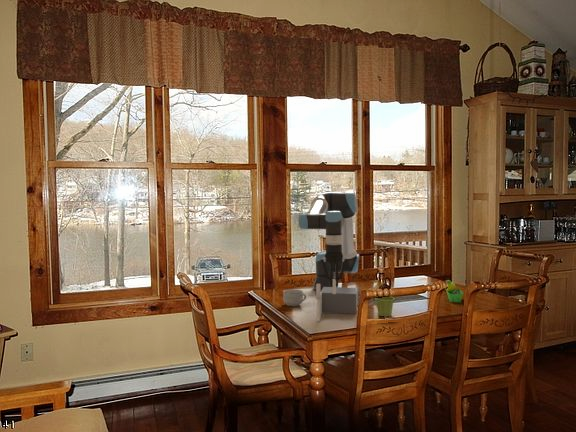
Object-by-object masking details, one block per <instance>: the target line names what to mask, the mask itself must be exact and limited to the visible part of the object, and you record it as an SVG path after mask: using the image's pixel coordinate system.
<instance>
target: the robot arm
mask: <svg viewBox="0 0 576 432" xmlns="http://www.w3.org/2000/svg"><path fill="white" fill-rule="evenodd" d="M356 213H358V198H357V196H356V193H355V192H353V191H327V192H326V191H325V192H323V193H320V194H318V195H316V197H314V198H313V199H312V201H311V202H310V207H309V209H308V211H307V212H306V213H300V214H299V216H298V219H297V221H298V227H299V229H301V230H325V243H326V244H325V251H321V252H318V253H316V256H315V280H314V283H313V288H312V289H313V290H314V291H316V284H320V290H322V289H323V287H332V293H333V294H336V287H339V280H341V279H342V278H343V275H344V274H356V273H358V270H359V264H360V263H359V261H360V253H357V250H356V249H355V241H354V240H355V239H354V221H353V220H354V219H353V217H354V216H355V215H356Z"/></svg>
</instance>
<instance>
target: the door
mask: <svg viewBox="0 0 576 432" xmlns="http://www.w3.org/2000/svg"><path fill="white" fill-rule="evenodd" d="M315 291H316V296H315V297H316V298H315V299H316V316H317V317H316V321H317V322H320V320H321V317H322V314H323V312H322V292H321V290H320V284H316V290H315Z"/></svg>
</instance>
